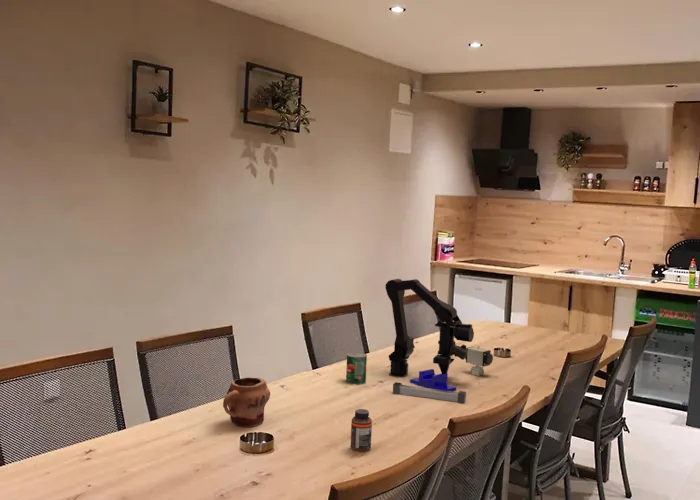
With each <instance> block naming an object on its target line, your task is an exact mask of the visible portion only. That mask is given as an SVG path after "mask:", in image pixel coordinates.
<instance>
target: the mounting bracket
mask: <svg viewBox="0 0 700 500" xmlns="http://www.w3.org/2000/svg"><path fill="white" fill-rule="evenodd" d="M448 376H449V375H448V372H447V373H443V374H442V373H439V374H438V373H437V374H435V369H434V368H429V369H425V370H419V371H418V377H413V378H409V383H410V384H413V385H417V386H418V387H423V388H430V389H437V390H445V391H452V392H457V387H456V386H453V385H451V384H448Z"/></svg>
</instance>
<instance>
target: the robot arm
mask: <svg viewBox="0 0 700 500" xmlns="http://www.w3.org/2000/svg"><path fill="white" fill-rule="evenodd" d="M409 290H410V291H412V292H413V293H415V294H416V296H418V297H419V298H420V299H421V300H423V302H425V304H426V305H428V306H429V307H430V308H431V309H432V310H433V312H434V314H435V315H436V316H437V318H438V319H439V320H438V321H437V323H435V324H434V327H439V339H438V341H437V344H438V351H437V354H436V355H434V357H433V358H432V363H433V364H435V365H436V364H437V365H438V367H439V369H440V372H441V373H440V374H443V373H447V374H448V372H449V369H450V366H451V364H452V363H453V362H454V361H455V358H452V356H453V357H457V358H458V359H460V360H465V357H466V355H467V353H468V350H467V348H468V347H467V345H466V344H462V345H457V344H456V341H461V342H468V343H471V342H473V340H474V335H475V332H474V327H473V324H471V323H469V324H467V323H463V322H462V320H461V319H460V317H459V316H458V311H457V308H455V307H454V306H452V305H451V304H449V303H447V302H444V301H443V300H441V299H440V298H438V297H437V296H436V295H435V294H434V293H433V292H431V290H430V289H428V288H427V287H426V286H424V284H422V283H421V282H420V280H419V279H416V278H413V279H409V280H407V279H405V280H402V279H400V278H395V279H390V280H388V281H387V282H386V283H385V291H386V295H387V297H388V299H389V301H390V302H391V306H392V315H393V321H394V322H393V323H394V329H395V330H394V331H395V335H396V336H395V340H394V347H393V349H394V350H393V351H392V352H391V353H390V354H389V355H388V359H389V361H390V372H389V373H388V375H389V376H394V377H401V378H402V377H406V376H407V375H408V374H409V363H408V359H409V358H410V356H412V355H413V353H414V349H415V347H416V346H415V343H414V342H415V341H414V338H413V337H410V336H409V333H408V328H407V322H406V321H407V320H406V314H405V313H406V312H405V305H404V297H405V294H406V293H405V291H409ZM455 339H456V341H455Z"/></svg>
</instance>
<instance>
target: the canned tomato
mask: <svg viewBox="0 0 700 500" xmlns="http://www.w3.org/2000/svg"><path fill="white" fill-rule="evenodd" d="M367 357H368V354H366V353H364V352H358V351H357V352H356V351H354V352H353V351H351V352H348V353H346V373H345V375H346V376H345V382H346V383H347V384H350V385H353V384H356V385H355V386H357V385H359V386H360V385H361V386H362V385H365V384H366V383H367V365H368V364H367V361H368V360H367V359H368V358H367Z"/></svg>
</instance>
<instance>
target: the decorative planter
mask: <svg viewBox="0 0 700 500" xmlns="http://www.w3.org/2000/svg"><path fill="white" fill-rule="evenodd" d="M270 398H271V391H270V389H269V388H268V385H267V382H266V380H265V379H263V378H261V377H244V378H238V379H234V380H232V381H231V383H230V385H229V388H228V390H227V392H226V395H224V398H223V403H222V407H223V409H224V411H225V413H226V414H228V415H229V417H230V421H231V424H233V423H234V424H233V425H235V424H236V425H235V426H237V425H240V426H239V427H243V426H244V427H246V428H248V427H255V426H258V425H261V424H262V423H263V422H264V421H265V407H266V404H267V403H268V402H269V400H270Z"/></svg>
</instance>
